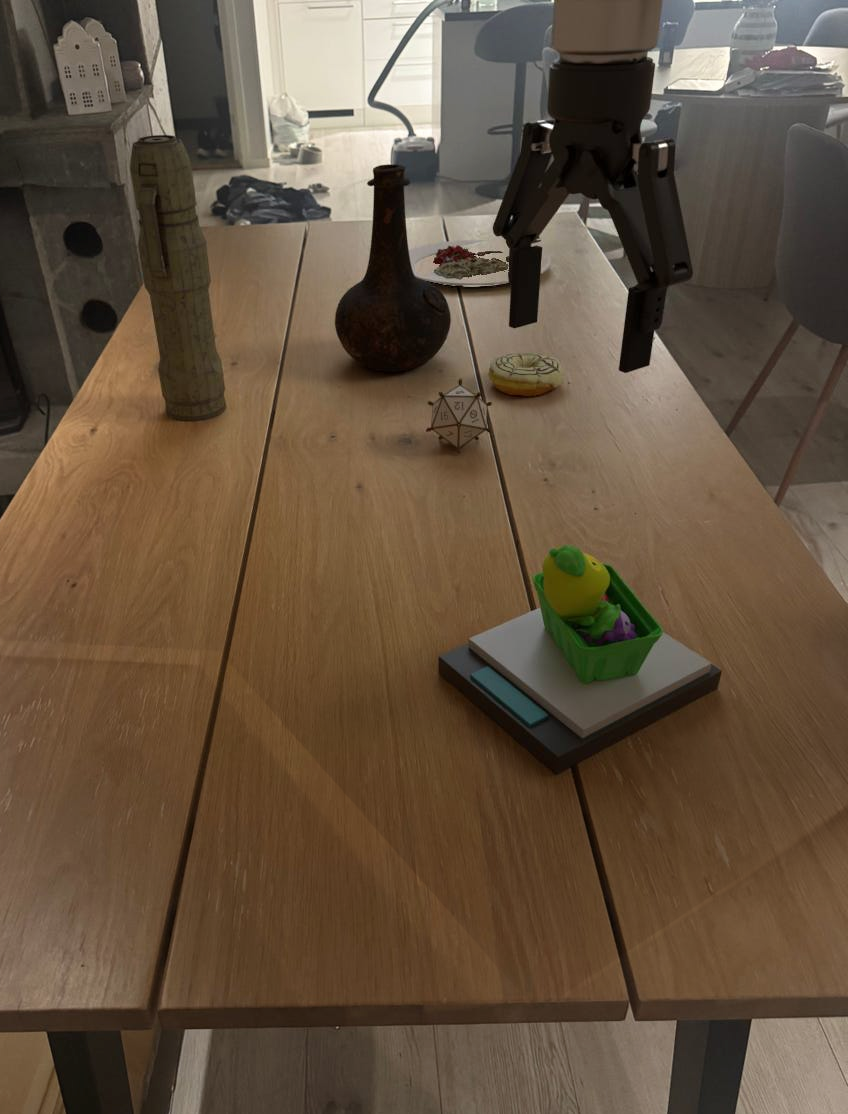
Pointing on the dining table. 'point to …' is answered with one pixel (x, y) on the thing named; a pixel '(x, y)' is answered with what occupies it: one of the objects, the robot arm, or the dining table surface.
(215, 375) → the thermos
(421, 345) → the glass bottle
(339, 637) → the dining table surface
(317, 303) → the dining table surface
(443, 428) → the game die
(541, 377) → the decorated donut
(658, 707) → the kitchen scale
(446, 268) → the plated food
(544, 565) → the fruit basket
